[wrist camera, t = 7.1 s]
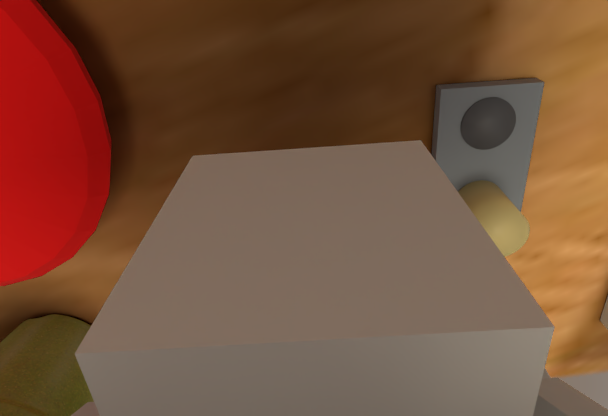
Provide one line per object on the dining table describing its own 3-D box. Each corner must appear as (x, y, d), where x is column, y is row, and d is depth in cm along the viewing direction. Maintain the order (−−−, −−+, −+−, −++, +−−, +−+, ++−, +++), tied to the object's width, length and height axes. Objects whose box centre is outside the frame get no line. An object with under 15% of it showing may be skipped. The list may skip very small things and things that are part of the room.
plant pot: (-28, 371, 29) (-147, 518, 21) (1, 265, 25) (-133, 399, 17) (115, 417, 31) (54, 565, 23) (162, 325, 27) (108, 468, 19)
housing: (192, 155, 12) (74, 353, 6) (421, 140, 12) (554, 327, 6) (238, 392, 16) (199, 658, 10) (407, 384, 16) (476, 646, 10)
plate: (436, 85, 20) (462, 109, 17) (535, 77, 20) (582, 101, 17) (426, 226, 24) (446, 270, 20) (511, 221, 24) (545, 264, 20)
